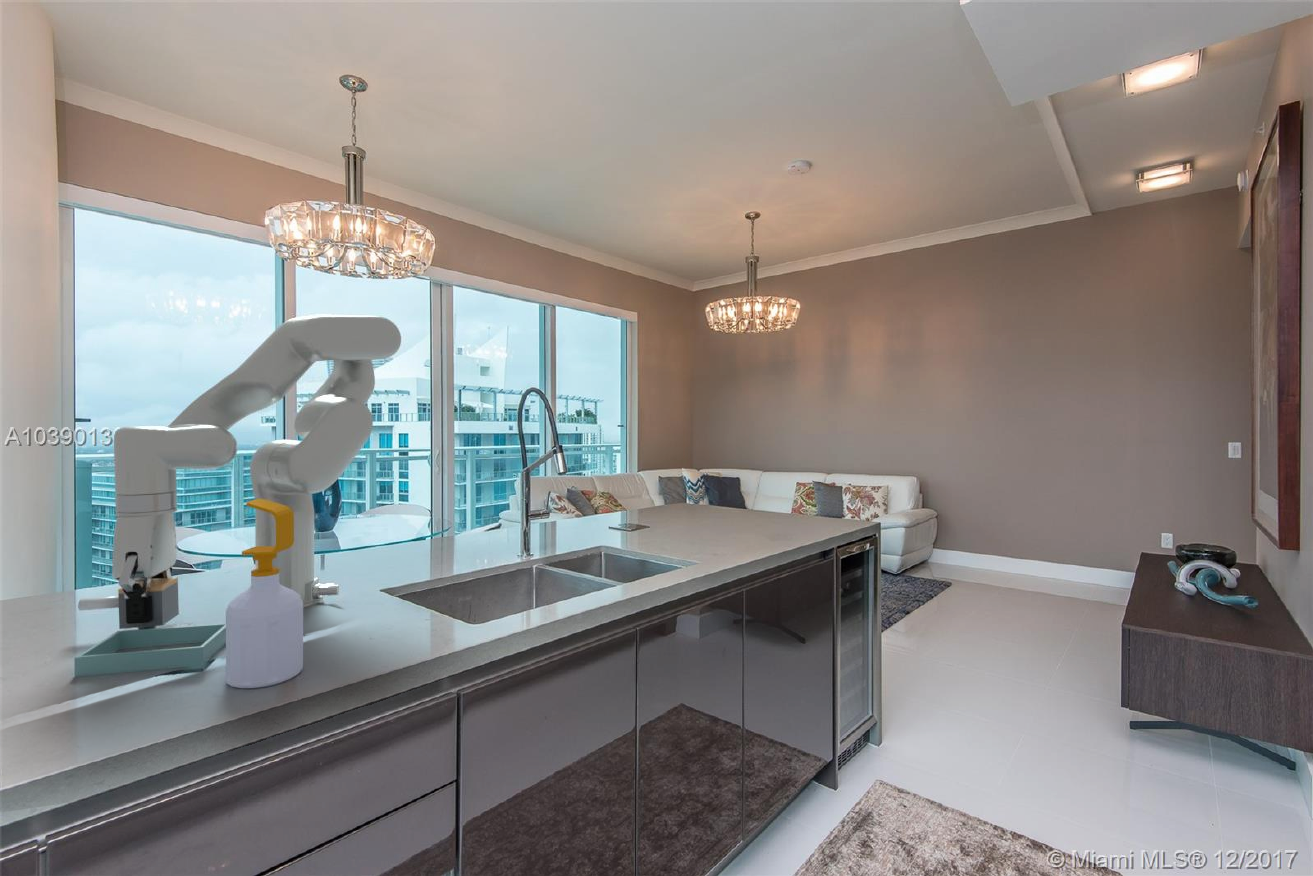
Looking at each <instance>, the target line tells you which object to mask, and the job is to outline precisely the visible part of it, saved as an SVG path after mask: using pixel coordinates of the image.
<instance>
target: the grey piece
mask: <svg viewBox="0 0 1313 876" xmlns="http://www.w3.org/2000/svg"><path fill="white" fill-rule="evenodd" d="M191 624H192V625H193V622H181V623H170V624H169V623H168V624H167V623H165V624H164V625H161V626H149V627H137V628H125V629H123V630H122V631H126V630H140V629H154V628H168V627H182V626H191Z"/></svg>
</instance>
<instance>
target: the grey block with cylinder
mask: <svg viewBox="0 0 1313 876" xmlns="http://www.w3.org/2000/svg"><path fill="white" fill-rule="evenodd" d="M135 583H139V584H140V585H141V587H143V581H142V582H135ZM117 591H118V593H117V594H118V595H116V596H102V597H101V596H99V597H85V598H84V597H83V598H80V599H79V600H78V605H77V607H78V610H79V611H89V610H90V611H91V610H105V609H106V610H107V609H116V608H117V609H118V623H119V625H118V626H119V629H120V630H122V629H123V630H124V629H126V628H137V627H149V626H161V625H165V624H167V623H168V622H170V621H171V620H172V619H174V618H175V617H177V616H178V615H179V614H180V612H179V611H180V610H179V608H180V607H179V578H178V577H177V576H176V577H175V576H173V577H172V578H157V579H151V585H150V592H149V596H152V607H153V620H152V621H151V622H148V623H135V624H128V623H127V622H126V599H125V598H124V591H123V590H122V587H120V588H118V589H117Z"/></svg>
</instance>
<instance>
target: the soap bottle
mask: <svg viewBox="0 0 1313 876" xmlns="http://www.w3.org/2000/svg"><path fill="white" fill-rule="evenodd" d="M245 505H246V506H247V507H249V508H252V509H255V508H256V509H259V510H262V511H265V512H269V513H271V514H272V515H273V516H274V517H275V520H276V546H257V547H255V546H253V547H250V548H247V549H245V550H242V551H241V555H242V556H253V559H252V560H253V561H255V560H256V561H258V569H252V570H251V571H250V579H251V580H250V587H249V588H248V589H247V590H245V591H243V592H241V593H240V594H238V595H237V596H236V597H235V598H234V599H232V600H231V601H230V602H229V603H228V605H227V607H226V609H225V623H226V644H225V682H226V684H228V685H229V686H231V687H233V688H237V689H258V688H265V687H266V688H267V687H271V686H274V685H279V684H281V683H284V682H286V681H288V680H291V679H292V678H294V677H295V676H298V675H299V674H300V673H301V672H302V670H303V668H304V607H303V602H302V600H301V597H300V595H299V594H298V593H296V592H295V591H293V590H292V589H289V588H286V587H284V586H282V585H281V584H280V583H279V568H277V567H272V559H275V558H277V553H278V552H280V551H283V550H285V549H288V548H290V547H291V546H292V545H293V542H294V514H293V511H292V509H291V508H289V507H288V506H285V505H282V504H279V503H275V502H272V501H269V500H265V499H257V500H255V499H253V500H249V501H248V500H247V501H246V504H245Z"/></svg>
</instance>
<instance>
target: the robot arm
mask: <svg viewBox="0 0 1313 876" xmlns="http://www.w3.org/2000/svg"><path fill="white" fill-rule="evenodd" d="M401 343H402V336H401V331H400V329H399V327H398V326H397V325H396V324H395V323H394V322H393V321H392V320H390V319H388V318H387V317H383V316H379V315H378V316H377V315H337V314H335V315H332V314H315V315H308V316H307V315H306V316H299V317H298V316H297V317H293V318H290V319H288V320H286V321H284V322H283V323H281V324H280V325H279V326H278V327H277V328H276V329H275V330H274V331H273V332H272V333H271V334H270V335H269V336H268V337H267V338H266V339H265V340H264V341H263V342H262V343H261V345H259V346H258V347H257V348H256V349H255V350H254V351H253V352H252V354H250V355H249V356H248V357H247V359H245V361H243V363H241V364H240V365H239V366H238V367H237V368H236V369H235V370H234V371H233V372H231V373H229V374H228V375H227V376H225V377H224V378H222V379H221V380H220V381H219V382H218V383H215V385H213V386H212V387H210V388H209V389H208V390H206V391H205V392H204V393H202V394H201V395H200V396H198V397H197V398H196V399H194V400H193V401H192V402H191V403H190V404H189V405H187V406H186V408H185V409H183V411H181V412H180V414H178V415H177V417H176V418H175V419H173V421H172V422H171V423H169V425H168V426H160V425H159V426H155V425H153V426H150V425H145V426H144V425H139V426H137V425H136V426H133V425H132V426H124V427H123V426H122V427H121V428H119V429H117V430H116V431H115V433H114V435H113V457H114V458H113V459H114V461H113V462H114V494H115V495H114V496H115V497H114V499H115V501H114V503H115V516H116V522H115V527H114V533H113V545H112V547H113V548H112V578H113V579H114V580H115V581H118V585H119V587H120V588H122V590H123V591H124V598H125V599H126V622H127V623H128V624H135V623H148V622H151V621H152V620H153V607H152V596H149V592H150V585H151V579H157V578H173V577H172V572H173V566H174V565H175V563H176V561H177V533H176V531H177V530H176V524H175V523H176V522H175V515H174V513H175V512H177V511H178V498H177V497H178V493H177V492H178V490H177V485H178V484H177V469H187V470H188V469H190V470H214V469H219V468H222V467H224V466H226V465H228V464H229V463H230V462H231V461H233V459H234V458H235V456H236V455H237V452H238V442H237V440H236V438H235V436H234V434H232V433H231V432H230V431H229V430H230V428H232V427H233V426H235V424H237V423H238V422H241V421H242V420H243V419H244V418H246V417H248V416H250V415H252V414H255V413H257V412H259V411H262V410H264V409H267V408H269V407H270V406H273V405H275V404H276V403H277V402H279V401H281V400H282V399H283V398H284V397H285V396H286V395H287V394H288V393H289V391H290V390H291V389H292V388H293V387H294V386H295V384H296V383H298V382H299V380H300V379H301V378H302V377H303V376H304V375H305V374H306V372H307V371H308V370H309V369H310V368H311V367H312V366H313V365H314V364H315V363H316V362H322V361H323V362H324V361H325V362H327V361H333V367H332V371H331V373H330V374H329V376H328V377H327V379H326V380H325V381H324V383H323V384H322V385H321V386H320V387H319V388H318V389H317V390H316V392H315V393H314V394H313V395H312V396H311V397H310V398H309V400H308V401H307V402H306V403H304V404H303V406H302V407H301V408H300V409H299V411H298V412H297V414H296V416H295V418H294V421H293V422H294V430H295V433H296V435H297V436H299V438H300V439H302V440H297V439H296V440H295V439H276V440H272V441H269V442H266V443H264V444H263V445H261V446H260V447H258V449H257V450H256V451H255V452H254V454H253V455H252V458H251V461H250V465H249V475H250V482H251V485H252V491H253V497H254V499H253V500H257V499H265V500H269V501H272V502H275V503H279V504H282V505H285V506H288V507H289V508H291V509H292V511H293V514H294V542H293V545H292V546H291V547H290V548H288V549H285V550H283V551H280V552H278V553H277V558H275V559H272V567H277V568H279V583H280V584H281V585H282V586H284V587H286V588H289V589H292V590H293V591H295V592H296V593H298V594H299V595H300V597H301V600H302V602H303V608H307V607H310V606H313V605H315V604H318V603H321V604H323V602H324V596H329V597H331V596H338V595H339V594H340V585H339V584H335V583H333V582H332V583H326V584H322V582H319V577H318V576H317V577H315V509H314V508H315V507H314V501H313V497H312V494H317V493H321V492H323V491H325V490H327V489H328V488H330V487H331V486H332V485H334V483H335V482H337V480H338V479H339V478H340V477H341V475H342V474H343V473H344V472H345V470H346V469H347V468H348V466H350V464H351V462H352V461H353V460H354V458H355V457H356V456H357V455H358V454H359V452H360V451H361V450H362V448H363V447H364V446H365V444H366V443H367V442H368V440H369V439H370V436H371V434H372V430H373V424H374V420H373V414H372V412H371V410H370V408H369V407H368V405H366V404H367V402H368V401H369V399H370V397H371V396H372V395H373V392H374V389H375V384H376V378H375V377H376V376H375V371H374V365H373V361H374V360H384V359H389V358H391V357H393V356H394V355H395V354H396V353H397V352H398V350H400V347H401V346H402V345H401ZM254 509H255V510H254V511H255V512H254V513H255V523H254V524H255V529H254V530H255V533H254V534H255V535H254V536H255V538H254V539H255V541H254V543H255V544H254V545H255V546H254V547H257V546H276V520H275V517H274V516H273V515H272V514H271V513H269V512H265V511H262V510H259V509H256V508H254ZM254 562H255V565H254V566H255V569H258V561H256V560H254ZM139 574H141V575H142V576H136V575H139ZM135 576H136V577H135ZM142 581H143V587H141V585H140V584H139V583H135V582H142Z"/></svg>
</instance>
